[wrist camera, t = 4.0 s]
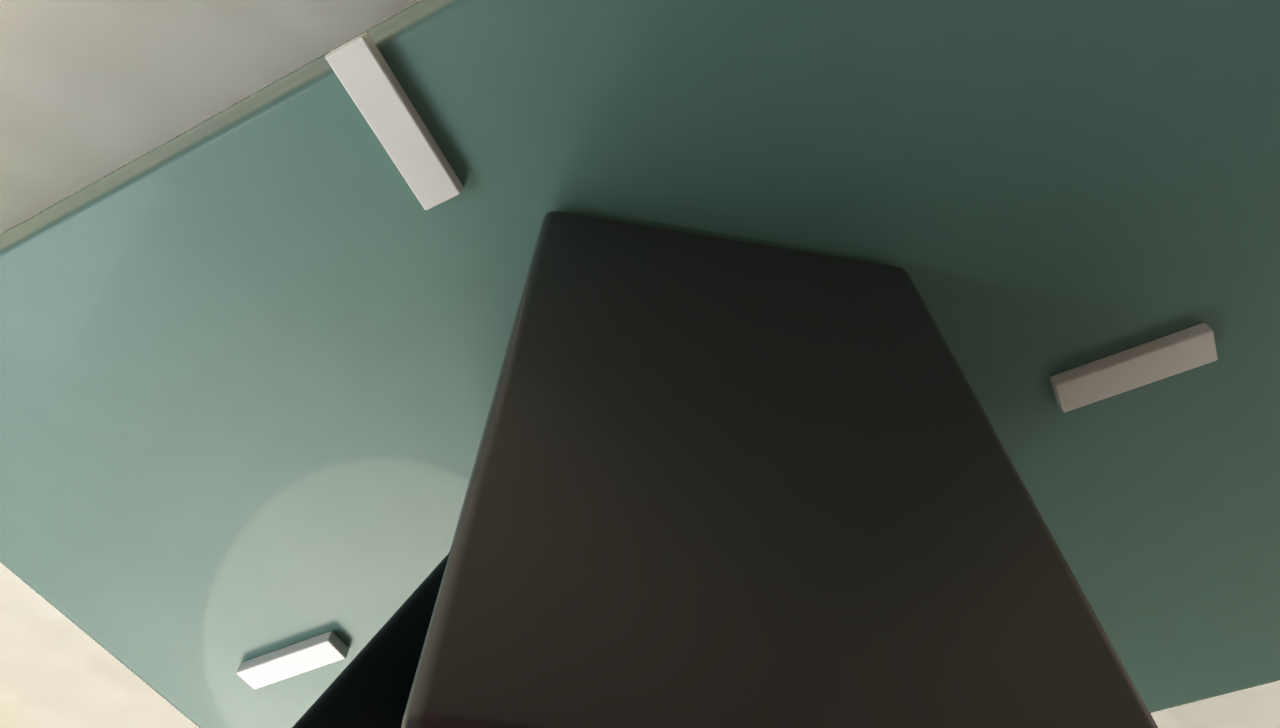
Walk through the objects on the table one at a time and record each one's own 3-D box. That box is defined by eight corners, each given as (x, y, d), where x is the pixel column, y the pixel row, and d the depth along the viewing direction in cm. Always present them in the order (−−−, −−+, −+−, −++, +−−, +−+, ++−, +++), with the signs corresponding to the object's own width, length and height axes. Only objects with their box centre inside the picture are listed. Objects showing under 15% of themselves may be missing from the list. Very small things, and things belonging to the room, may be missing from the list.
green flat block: (442, 760, 16) (407, 917, 14) (-60, 257, 11) (-253, 377, 8) (1266, 516, 12) (1401, 670, 10) (1136, -415, 7) (1359, -520, 5)
